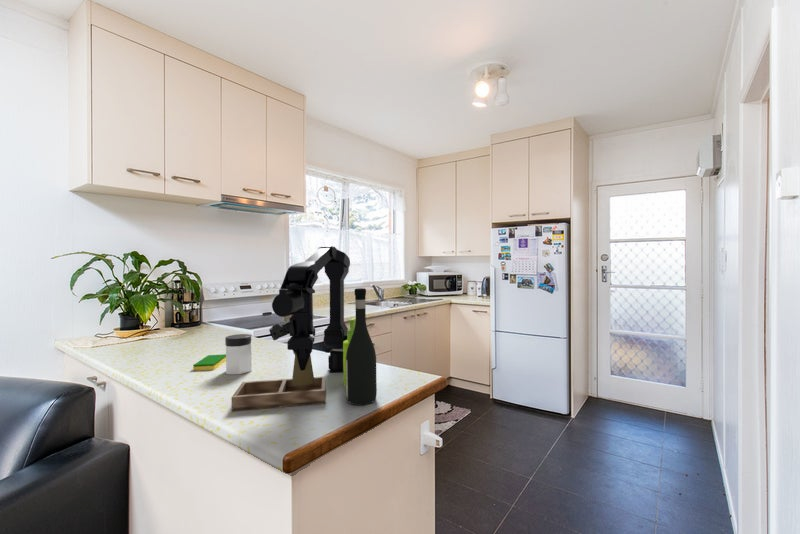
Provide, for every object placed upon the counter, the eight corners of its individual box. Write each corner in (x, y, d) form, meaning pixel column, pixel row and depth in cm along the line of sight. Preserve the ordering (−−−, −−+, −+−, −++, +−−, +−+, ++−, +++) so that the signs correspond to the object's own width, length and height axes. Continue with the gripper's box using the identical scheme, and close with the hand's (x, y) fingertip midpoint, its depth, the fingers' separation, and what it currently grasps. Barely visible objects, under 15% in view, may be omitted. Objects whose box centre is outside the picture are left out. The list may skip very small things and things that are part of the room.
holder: (325, 388, 108) (325, 376, 108) (325, 403, 96) (325, 390, 96) (242, 394, 104) (242, 381, 103) (231, 411, 92) (231, 397, 92)
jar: (252, 372, 124) (252, 337, 123) (226, 376, 120) (225, 340, 120) (250, 366, 132) (250, 332, 132) (225, 369, 128) (225, 335, 128)
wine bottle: (340, 402, 97) (338, 289, 96) (358, 393, 103) (357, 287, 103) (364, 408, 92) (363, 290, 92) (382, 398, 99) (381, 288, 99)
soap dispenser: (368, 381, 113) (367, 317, 113) (356, 388, 107) (355, 320, 107) (352, 379, 116) (351, 316, 116) (339, 386, 110) (338, 319, 109)
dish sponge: (192, 371, 127) (192, 364, 127) (208, 361, 141) (208, 354, 141) (214, 370, 128) (214, 363, 128) (227, 360, 142) (227, 354, 142)
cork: (317, 378, 104) (316, 340, 103) (310, 386, 98) (309, 345, 97) (296, 378, 104) (296, 339, 104) (288, 385, 98) (287, 344, 98)
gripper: (276, 307, 108) (277, 360, 108) (265, 317, 90) (266, 380, 90) (314, 306, 110) (315, 358, 111) (312, 315, 92) (313, 377, 92)
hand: (303, 367), depth 101 cm, fingers closed on cork, 4 cm apart
